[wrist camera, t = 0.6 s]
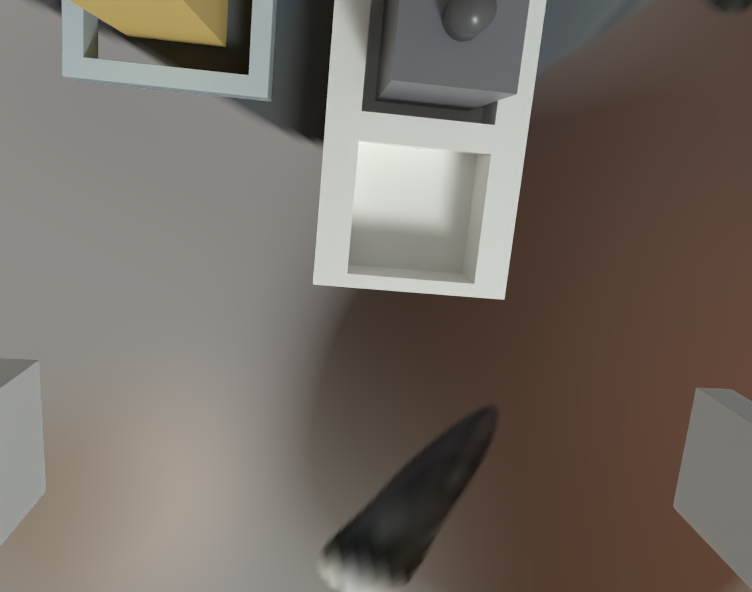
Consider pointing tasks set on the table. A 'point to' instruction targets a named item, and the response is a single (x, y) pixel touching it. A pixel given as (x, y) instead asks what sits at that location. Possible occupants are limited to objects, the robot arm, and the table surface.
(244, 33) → the table surface
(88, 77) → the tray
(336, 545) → the table surface
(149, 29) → the plug
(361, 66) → the strip
